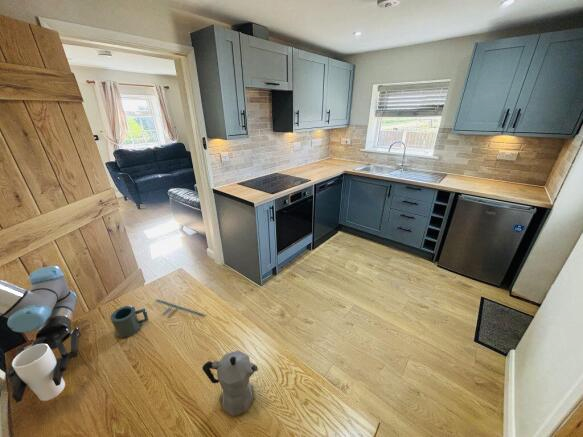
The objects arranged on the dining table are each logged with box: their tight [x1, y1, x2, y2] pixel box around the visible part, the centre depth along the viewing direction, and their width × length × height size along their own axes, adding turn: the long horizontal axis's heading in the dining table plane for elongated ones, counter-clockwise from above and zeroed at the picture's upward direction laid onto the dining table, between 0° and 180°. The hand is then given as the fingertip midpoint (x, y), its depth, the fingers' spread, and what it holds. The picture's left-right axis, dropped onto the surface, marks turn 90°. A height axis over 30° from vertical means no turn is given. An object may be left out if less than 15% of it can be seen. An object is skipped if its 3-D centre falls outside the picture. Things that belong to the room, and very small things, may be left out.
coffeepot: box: [202, 350, 259, 417], centre depth 67 cm, size 15×9×18 cm, turn 86°
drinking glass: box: [11, 344, 66, 402], centre depth 63 cm, size 7×7×15 cm
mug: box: [110, 305, 149, 339], centre depth 90 cm, size 11×8×9 cm
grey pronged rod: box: [156, 299, 204, 318], centre depth 99 cm, size 1×25×5 cm
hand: (37, 389), depth 59 cm, fingers closed on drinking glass, 6 cm apart
